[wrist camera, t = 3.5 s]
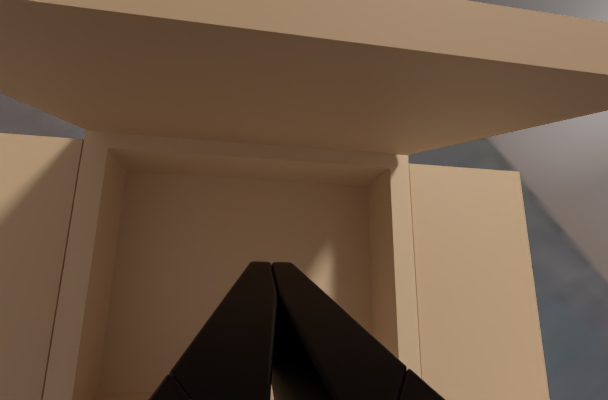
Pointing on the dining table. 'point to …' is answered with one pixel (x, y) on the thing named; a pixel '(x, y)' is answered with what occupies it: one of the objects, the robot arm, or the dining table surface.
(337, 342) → the robot arm
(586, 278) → the dining table surface
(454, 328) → the carton
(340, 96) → the flap
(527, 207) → the dining table surface
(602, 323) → the dining table surface
